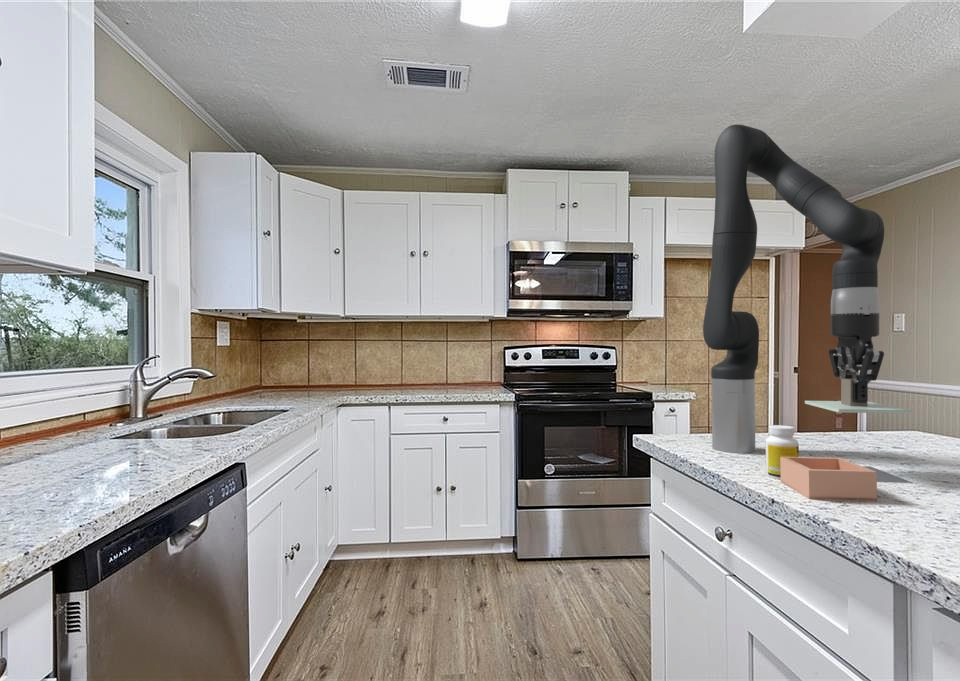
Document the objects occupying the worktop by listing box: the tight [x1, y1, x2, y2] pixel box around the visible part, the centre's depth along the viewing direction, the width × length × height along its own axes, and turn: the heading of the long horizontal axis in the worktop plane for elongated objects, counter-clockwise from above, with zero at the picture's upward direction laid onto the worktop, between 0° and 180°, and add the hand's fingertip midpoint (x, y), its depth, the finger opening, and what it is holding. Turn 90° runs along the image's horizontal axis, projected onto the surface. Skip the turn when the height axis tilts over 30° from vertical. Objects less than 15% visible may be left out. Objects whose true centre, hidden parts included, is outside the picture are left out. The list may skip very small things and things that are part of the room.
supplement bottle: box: [765, 424, 800, 481], centre depth 95 cm, size 5×5×10 cm
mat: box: [863, 465, 914, 484], centre depth 96 cm, size 12×12×1 cm
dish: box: [780, 456, 878, 502], centre depth 85 cm, size 10×10×5 cm
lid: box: [804, 379, 912, 414], centre depth 97 cm, size 12×12×6 cm
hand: (854, 401), depth 97 cm, fingers closed on lid, 3 cm apart
